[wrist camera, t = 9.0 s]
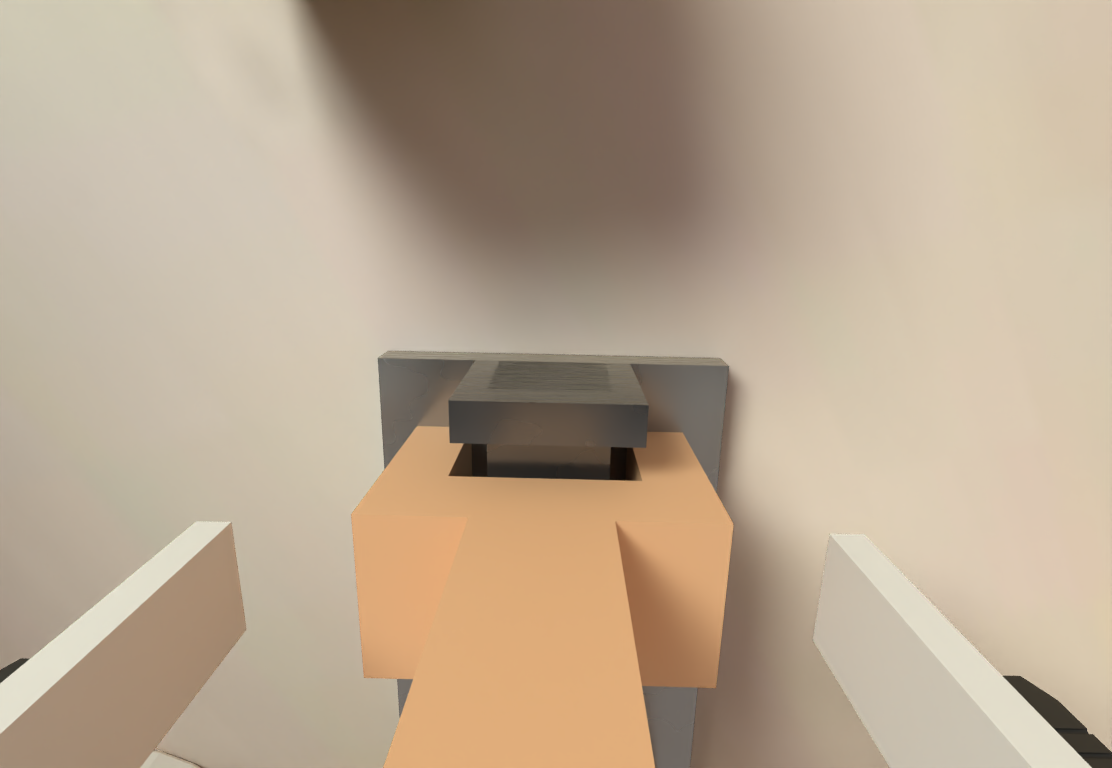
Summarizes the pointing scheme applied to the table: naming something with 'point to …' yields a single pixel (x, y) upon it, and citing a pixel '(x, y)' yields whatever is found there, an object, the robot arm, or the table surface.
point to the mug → (166, 761)
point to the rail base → (563, 439)
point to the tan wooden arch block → (537, 603)
